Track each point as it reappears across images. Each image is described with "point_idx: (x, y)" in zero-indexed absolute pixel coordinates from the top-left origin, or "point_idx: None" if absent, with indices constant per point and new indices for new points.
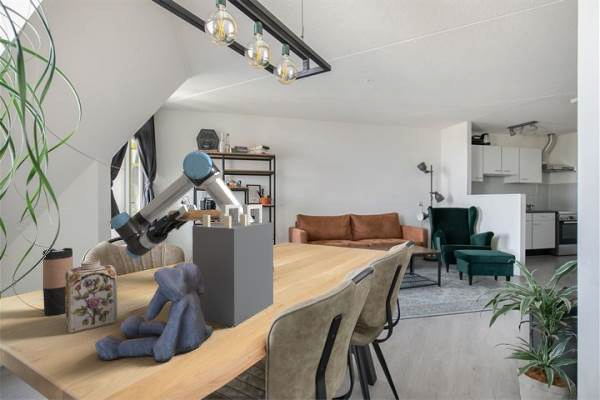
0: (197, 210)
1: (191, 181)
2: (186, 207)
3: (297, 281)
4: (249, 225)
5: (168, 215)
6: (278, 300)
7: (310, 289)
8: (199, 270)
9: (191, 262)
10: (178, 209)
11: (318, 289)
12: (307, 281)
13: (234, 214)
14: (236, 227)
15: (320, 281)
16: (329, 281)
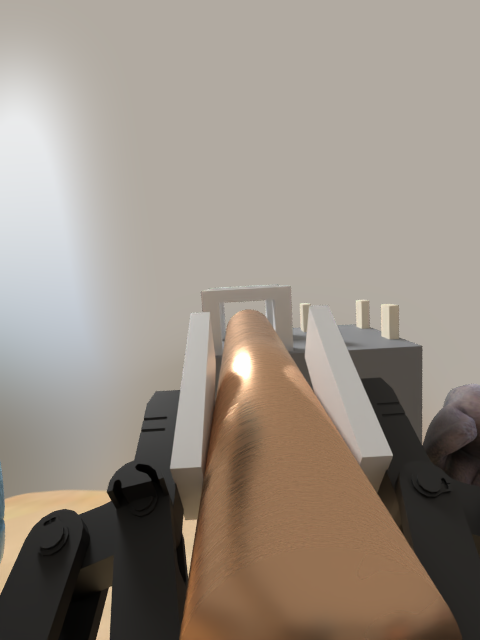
0: (269, 337)
1: None
2: (307, 327)
3: (5, 560)
4: (293, 329)
5: (447, 633)
6: (195, 523)
7: (94, 508)
8: (435, 416)
9: (461, 387)
10: (353, 363)
11: (93, 497)
12: (9, 539)
13: (220, 327)
14: (343, 326)
15: (14, 516)
16: (17, 503)
